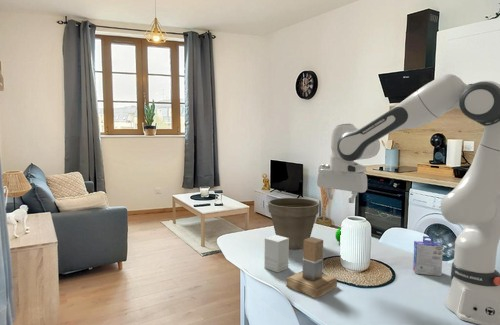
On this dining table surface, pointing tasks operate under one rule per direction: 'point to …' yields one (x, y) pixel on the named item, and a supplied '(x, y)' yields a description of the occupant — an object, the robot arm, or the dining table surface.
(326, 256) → the dining table surface
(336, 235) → the ornament
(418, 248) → the ink cartridge box
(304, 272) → the block
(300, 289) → the oak plinth
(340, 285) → the dining table surface
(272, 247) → the supplement box
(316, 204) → the plant pot
